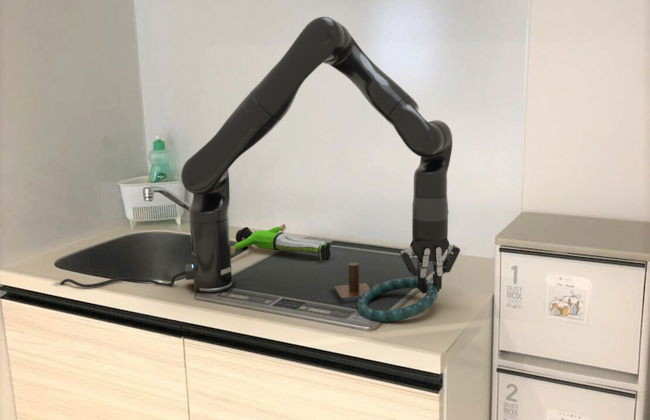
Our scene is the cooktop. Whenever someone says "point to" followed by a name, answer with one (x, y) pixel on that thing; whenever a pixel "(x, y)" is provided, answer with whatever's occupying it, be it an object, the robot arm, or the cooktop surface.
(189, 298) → the cooktop surface
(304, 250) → the figurine
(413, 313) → the ring
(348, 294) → the ring toss
